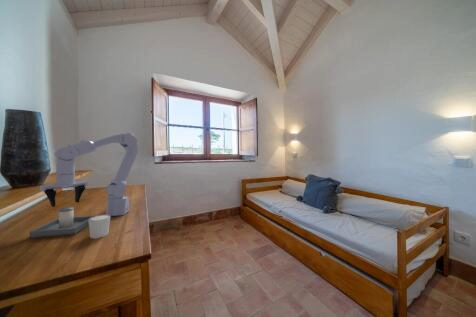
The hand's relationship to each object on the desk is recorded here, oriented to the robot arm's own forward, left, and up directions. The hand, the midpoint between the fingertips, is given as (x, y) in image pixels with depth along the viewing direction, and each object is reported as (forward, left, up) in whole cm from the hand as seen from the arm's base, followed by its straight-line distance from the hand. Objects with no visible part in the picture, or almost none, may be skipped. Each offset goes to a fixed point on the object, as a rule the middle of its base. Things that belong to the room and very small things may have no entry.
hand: (65, 204), depth 74 cm
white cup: (-19, +13, -10) cm, 25 cm away
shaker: (-3, +4, -9) cm, 10 cm away
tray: (-3, +4, -9) cm, 11 cm away
